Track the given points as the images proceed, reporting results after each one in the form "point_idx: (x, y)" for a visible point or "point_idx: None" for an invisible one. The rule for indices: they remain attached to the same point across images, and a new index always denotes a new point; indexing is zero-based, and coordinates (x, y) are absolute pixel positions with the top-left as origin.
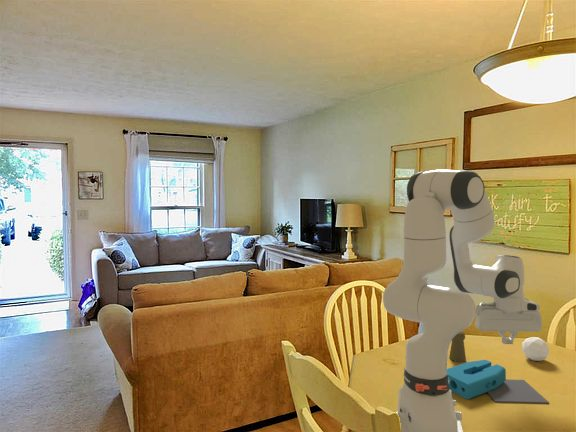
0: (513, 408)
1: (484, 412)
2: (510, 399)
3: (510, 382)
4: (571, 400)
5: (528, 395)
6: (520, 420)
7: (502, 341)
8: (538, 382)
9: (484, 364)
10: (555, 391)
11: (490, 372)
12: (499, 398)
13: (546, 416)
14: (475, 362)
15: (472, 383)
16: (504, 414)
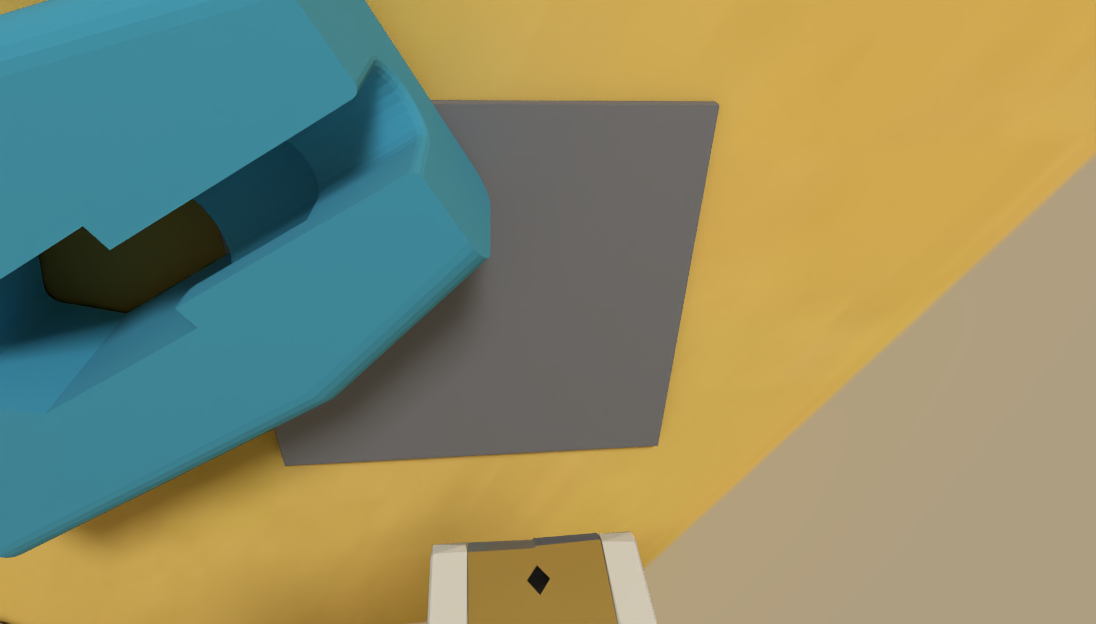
0: (389, 505)
1: (187, 556)
2: (407, 439)
3: (544, 174)
4: (837, 390)
5: (572, 381)
6: (379, 590)
7: (432, 579)
8: (838, 125)
9: (230, 173)
10: (841, 282)
11: (265, 373)
12: (328, 434)
13: None
14: (93, 98)
15: (52, 537)
16: (308, 558)
